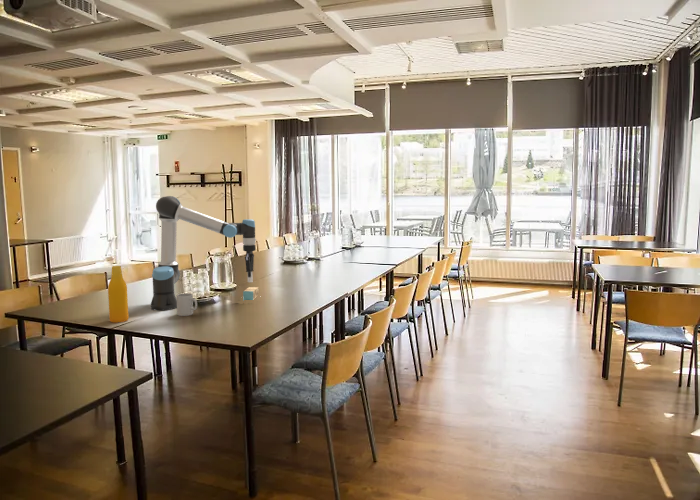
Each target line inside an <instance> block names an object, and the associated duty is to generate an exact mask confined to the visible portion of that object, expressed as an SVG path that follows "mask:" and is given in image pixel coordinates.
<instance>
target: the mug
mask: <svg viewBox="0 0 700 500" xmlns="http://www.w3.org/2000/svg"><path fill="white" fill-rule="evenodd" d="M176 299H177V308H176V314H177V316H179V317H188V316H192V315H194V311H196V310H197V308H198V300H197V299H196V298H194V297H193V293H189V292H188V293H187V292H186V293H178V294H177V295H176Z"/></svg>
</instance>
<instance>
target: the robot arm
mask: <svg viewBox="0 0 700 500" xmlns="http://www.w3.org/2000/svg"><path fill="white" fill-rule="evenodd" d="M155 209H156V212H157V213H158V219H159V221H161V231H160V232H161V237H160V238H161V239H160V241H161V243H160V244H161V245H160V261H159V262H158V264H157V265H158V266H157V267H155V268H153V270H152V274H151V277H152V299H151V303H150V309H151V310H154V311H168V310H174V309H177V296H176V294H175V284H176V283H177V282H178V281H179V278H180V270H179V263H178V262H177V228H178V227H177V226H178V225H177V224H178V223H177V222H178V221H180V220H181V221H184V222H187V223H189V224H191V225H195V226H198V227H200V228H203V229H206V230H208V231H211V232H215V233H217V234H219V235H220V234H221V235H223V236H225V237H226V238H229V239H231V238H234V237H235V236H242V244H243V246H242V251H244V252H245V256H244V260H245V270H246V271H245V272H246V273H247V283H254V281H253V278H254V277H253V272H254V265H255V264H254V259H255V254H254V252H255V251H256V250H257V249H256V247H257V246H256V241H257V239H256V221H255V220H254V219H249V218H248V219H243V220H242V221H241V222H227V221H223V220H221V219H218V218H215V217H212V216H211V215H207V214H204V213H202V212H199V211H196V210H194V209H191V208H188V207H186V206H183V204H182V203H181V202H180V200H179V199H178V198H177V197H175V196H171V195H167V196H162V197H160V198H158V200H157V201H156V203H155Z"/></svg>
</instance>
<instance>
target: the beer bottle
mask: <svg viewBox="0 0 700 500" xmlns="http://www.w3.org/2000/svg"><path fill="white" fill-rule="evenodd" d="M110 274H111V275H110V280H109V282H108V286H107V294H108V295H107V296H108V297H107V298H108V314H109V315H108V316H109V318H108V319H109V322H111V323H115V324H116V323H117V324H118V322H119V323H125V322H127V321H128V320H129V316H130V315H129V302H128V301H129V300H128V286H127V285H128V284H127V283H126V281H125V279H124V277H123V271H122V266H121V265H112V266H111V273H110Z"/></svg>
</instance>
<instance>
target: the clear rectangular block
mask: <svg viewBox="0 0 700 500" xmlns="http://www.w3.org/2000/svg"><path fill="white" fill-rule="evenodd" d="M259 295H260V289H259V286H257V287H256V286H248V287H247V288H246V289H245V290H243V291H242V297H243V301H244V300H254V299H255V298H256V297H257V296H259Z"/></svg>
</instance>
